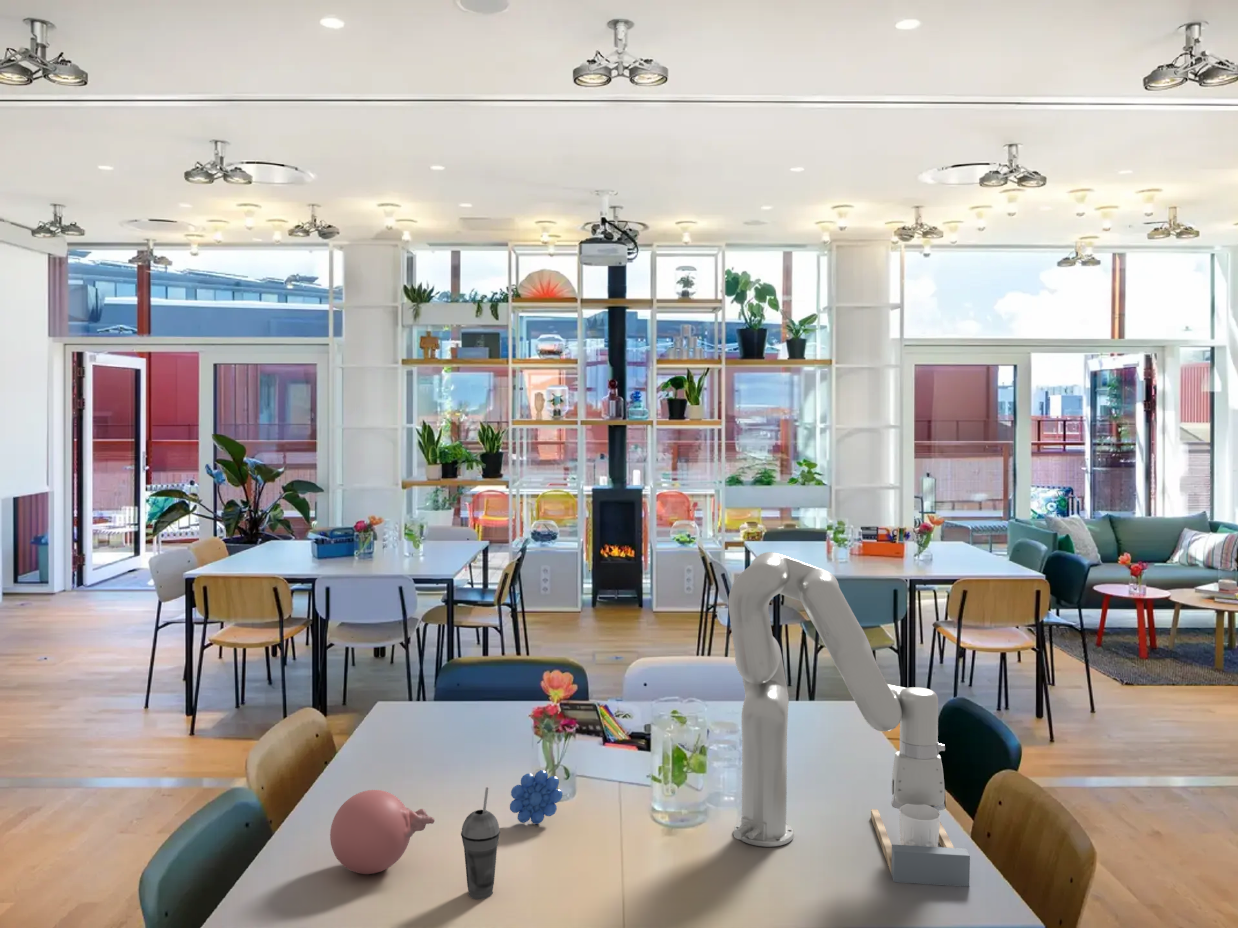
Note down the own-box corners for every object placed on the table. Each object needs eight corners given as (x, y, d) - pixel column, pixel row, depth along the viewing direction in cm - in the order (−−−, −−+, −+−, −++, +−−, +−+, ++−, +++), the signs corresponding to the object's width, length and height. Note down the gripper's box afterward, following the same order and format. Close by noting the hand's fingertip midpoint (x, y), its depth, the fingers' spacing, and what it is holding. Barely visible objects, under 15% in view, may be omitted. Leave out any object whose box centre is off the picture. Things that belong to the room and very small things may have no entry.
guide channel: (965, 878, 180) (965, 868, 180) (891, 874, 182) (891, 864, 182) (935, 821, 207) (935, 812, 207) (870, 817, 209) (871, 808, 209)
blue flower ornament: (563, 815, 209) (564, 763, 209) (561, 828, 202) (561, 774, 202) (512, 815, 209) (512, 762, 209) (508, 828, 202) (508, 773, 202)
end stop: (969, 886, 178) (969, 855, 177) (894, 881, 179) (894, 851, 179) (965, 878, 180) (966, 848, 180) (891, 874, 182) (891, 844, 182)
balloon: (428, 887, 176) (427, 807, 175) (320, 889, 175) (320, 808, 174) (439, 850, 191) (439, 777, 191) (341, 852, 190) (341, 778, 190)
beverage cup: (462, 884, 177) (462, 780, 177) (501, 882, 178) (501, 779, 177) (459, 903, 170) (459, 795, 169) (499, 902, 171) (499, 794, 170)
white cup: (936, 872, 183) (937, 823, 182) (895, 863, 187) (896, 815, 186) (941, 854, 190) (943, 807, 189) (902, 846, 194) (903, 800, 193)
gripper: (951, 744, 196) (950, 829, 196) (878, 741, 197) (877, 826, 198) (960, 756, 188) (959, 845, 189) (884, 753, 190) (883, 842, 190)
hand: (917, 835), depth 193 cm, fingers closed
